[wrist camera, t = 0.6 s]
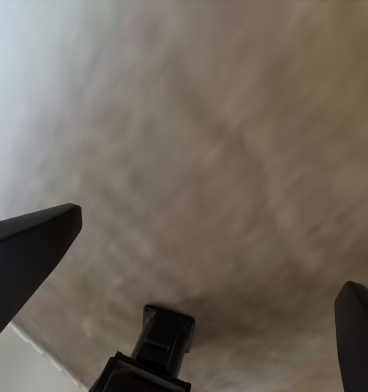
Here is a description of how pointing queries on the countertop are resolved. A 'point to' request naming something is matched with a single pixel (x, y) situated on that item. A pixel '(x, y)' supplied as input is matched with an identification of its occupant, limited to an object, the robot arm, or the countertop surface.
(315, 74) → the countertop surface
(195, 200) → the countertop surface
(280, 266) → the countertop surface
